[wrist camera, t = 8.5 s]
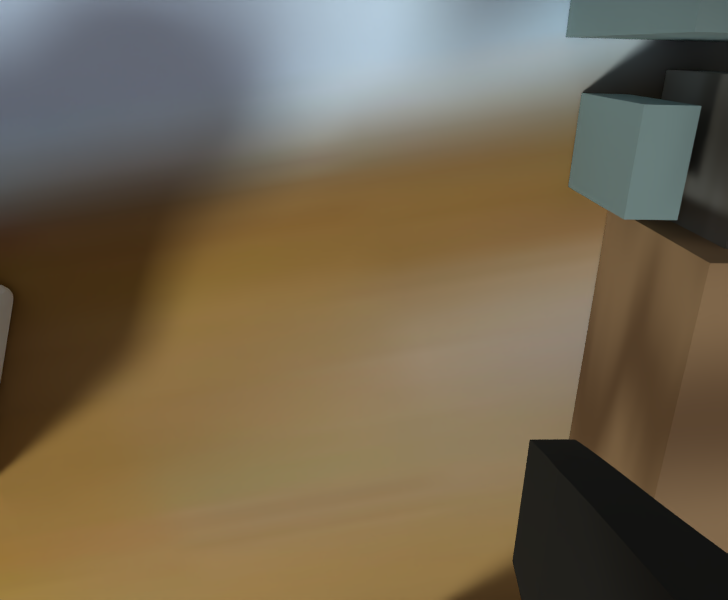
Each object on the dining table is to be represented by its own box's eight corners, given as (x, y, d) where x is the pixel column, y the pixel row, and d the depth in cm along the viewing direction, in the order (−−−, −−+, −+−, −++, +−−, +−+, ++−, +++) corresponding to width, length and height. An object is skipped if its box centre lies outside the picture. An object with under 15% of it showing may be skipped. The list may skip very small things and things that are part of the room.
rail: (658, 451, 21) (754, 570, 16) (567, 452, 20) (636, 572, 16) (746, 72, 16) (913, 82, 12) (631, 68, 16) (753, 77, 11)
